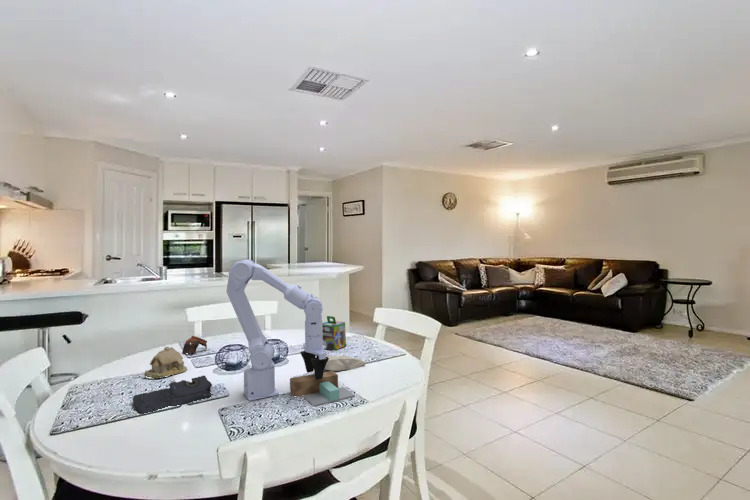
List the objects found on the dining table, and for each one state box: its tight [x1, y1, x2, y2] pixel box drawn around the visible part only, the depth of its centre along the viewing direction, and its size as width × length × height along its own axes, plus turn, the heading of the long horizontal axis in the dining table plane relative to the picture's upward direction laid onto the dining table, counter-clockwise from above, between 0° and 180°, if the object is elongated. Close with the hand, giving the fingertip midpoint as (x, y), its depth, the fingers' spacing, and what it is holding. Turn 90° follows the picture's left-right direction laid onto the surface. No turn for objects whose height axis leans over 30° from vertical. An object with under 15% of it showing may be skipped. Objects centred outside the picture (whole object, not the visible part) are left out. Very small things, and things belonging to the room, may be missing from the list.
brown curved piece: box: [182, 335, 208, 354], centre depth 173 cm, size 12×10×8 cm
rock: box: [324, 354, 366, 372], centre depth 152 cm, size 21×5×15 cm
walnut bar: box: [289, 370, 339, 397], centre depth 128 cm, size 15×4×5 cm, turn 118°
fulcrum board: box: [303, 381, 356, 407], centre depth 123 cm, size 14×8×4 cm, turn 121°
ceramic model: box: [144, 346, 188, 378], centre depth 145 cm, size 14×11×10 cm
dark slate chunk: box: [132, 374, 214, 415], centre depth 123 cm, size 15×22×5 cm
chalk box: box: [322, 315, 347, 351], centre depth 179 cm, size 9×9×15 cm
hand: (314, 375), depth 128 cm, fingers open, 7 cm apart
